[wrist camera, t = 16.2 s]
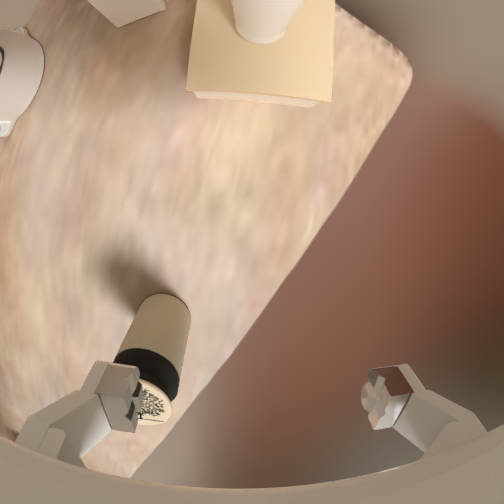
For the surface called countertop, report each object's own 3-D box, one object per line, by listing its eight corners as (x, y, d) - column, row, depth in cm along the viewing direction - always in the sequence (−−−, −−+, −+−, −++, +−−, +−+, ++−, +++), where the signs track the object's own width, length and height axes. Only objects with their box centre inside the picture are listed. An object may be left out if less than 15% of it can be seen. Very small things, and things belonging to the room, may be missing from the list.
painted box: (195, 100, 34) (185, 89, 26) (206, 3, 29) (201, -26, 21) (311, 110, 35) (331, 102, 28) (316, 13, 30) (334, -11, 23)
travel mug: (140, 287, 42) (97, 369, 25) (194, 298, 43) (176, 387, 26) (139, 332, 44) (104, 417, 27) (188, 341, 45) (172, 432, 28)
